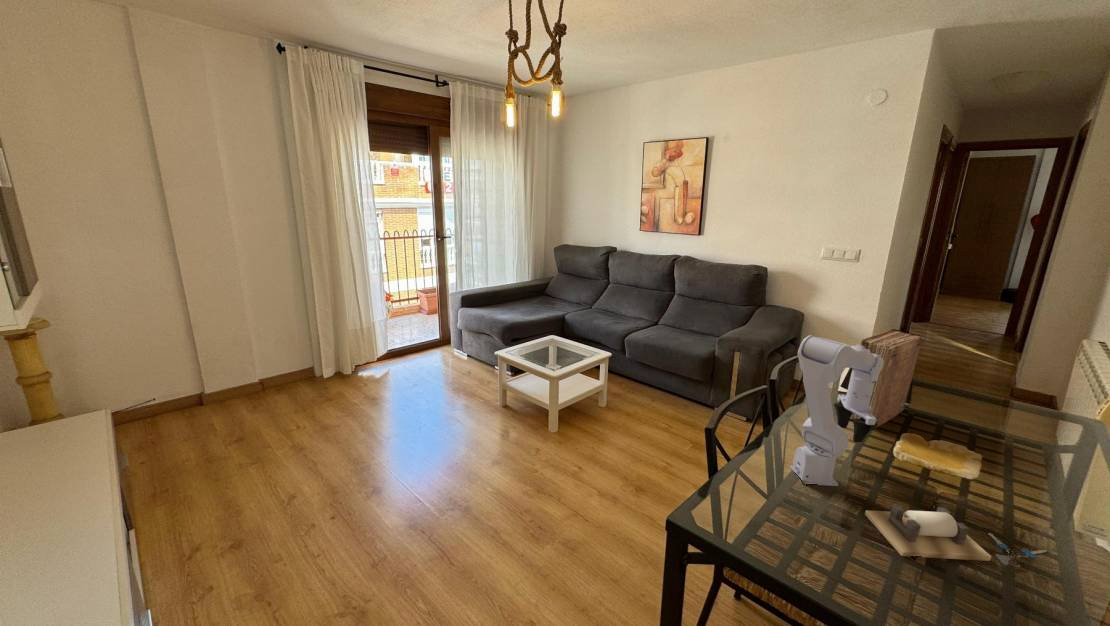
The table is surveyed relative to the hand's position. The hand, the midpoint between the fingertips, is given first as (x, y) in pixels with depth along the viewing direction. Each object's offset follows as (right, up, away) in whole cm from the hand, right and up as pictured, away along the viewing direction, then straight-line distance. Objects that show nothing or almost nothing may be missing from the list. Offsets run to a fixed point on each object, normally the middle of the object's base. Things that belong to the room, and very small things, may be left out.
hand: (849, 434), depth 129 cm
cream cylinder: (+1, -13, -27) cm, 30 cm away
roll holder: (0, -17, -25) cm, 31 cm away
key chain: (+18, -19, -28) cm, 38 cm away
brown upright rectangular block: (+30, -2, +31) cm, 43 cm away
